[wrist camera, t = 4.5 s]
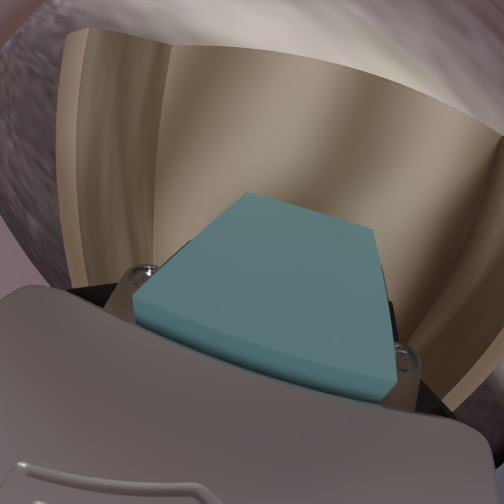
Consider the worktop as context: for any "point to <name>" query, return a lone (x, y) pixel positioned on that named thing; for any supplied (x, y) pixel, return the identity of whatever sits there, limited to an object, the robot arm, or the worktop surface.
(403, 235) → the birch box
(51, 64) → the worktop surface
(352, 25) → the worktop surface
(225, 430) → the robot arm
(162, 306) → the teal block
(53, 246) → the worktop surface
